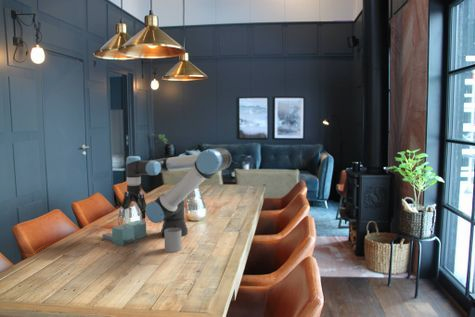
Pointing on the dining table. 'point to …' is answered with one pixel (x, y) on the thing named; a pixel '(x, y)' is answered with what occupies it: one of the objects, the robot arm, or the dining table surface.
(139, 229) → the block
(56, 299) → the dining table surface
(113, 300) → the dining table surface
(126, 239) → the teal stepped block
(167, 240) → the cup
